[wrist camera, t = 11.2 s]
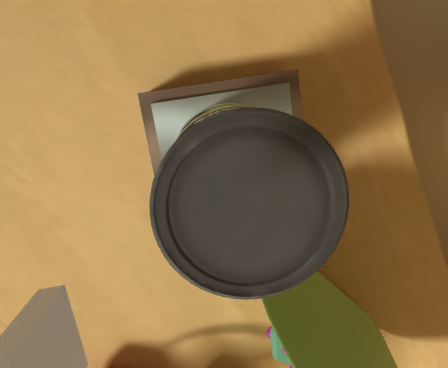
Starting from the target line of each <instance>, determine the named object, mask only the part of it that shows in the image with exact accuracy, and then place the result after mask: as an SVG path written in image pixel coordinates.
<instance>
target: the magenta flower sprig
mask: <svg viewBox="0 0 448 368" xmlns="http://www.w3.org/2000/svg"><path fill="white" fill-rule="evenodd" d="M262 301H263V304H264V307H265V310H266V312H267V315H268V317H269V320H270V322H271V324H272V327H270V328H269V329H268V330H267V335H268V336H269V337H270V338H271V347H272V355H273V357H274V359H275V360H277V361H280V362H283V363H286V364H289V365H290V368H398V367H397V365H396V363H395V361H394V359H393V357H392V355H391V353H390V350H389V348H388V346H387V344H386V342H385V340H384V338H383V336H382V334H381V332H380V331H379V329H378V327H377V326H376V324H375V323H374V322H373V320H372V319H371V318H370V317H369V315H368V314H367V313H366V312H365V311H364V310H363V309H362V308H360V307H359V306H358V305H357V304H356V303H355V302H353V301H352V300H351V299H350V298H349V297H348V296H346V295H345V294H344V293H343V292H342V291H341V290H340V289H338V288H337V287H336V286H335V285H334V284H333V283H331V282H330V281H329V280H328V279H327V278H326V277H324V276H323V275H322V274H321V273H320V272H319V271H316V272H315V273H314V274H313V275H312V276H311V277H309V278H308V279H306V280H305V281H304V282H302V283H301V284H299V285H297V286H295V287H294V288H292V289H290V290H287V291H285V292H283V293H280V294H276V295H273V296H270V297H265V298H262Z"/></svg>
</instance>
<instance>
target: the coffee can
mask: <svg viewBox="0 0 448 368" xmlns="http://www.w3.org/2000/svg"><path fill="white" fill-rule="evenodd" d="M348 208H349V190H348V183H347V178H346V174H345V171H344V168H343V166H342V163H341V161H340V159H339V157H338V156H337V154H336V152H335V150H334V149H333V148H332V146H331V145H330V144H329V143H328V141H327V140H326V139H325V138H324V137H323V136H322V135H321V134H320V133H319V132H318V131H317V130H316V129H315V128H313V127H312V126H311V125H309V124H308V123H306V122H305V121H303V120H301V119H299V118H297V117H295V116H293V115H290V114H288V113H284V112H281V111H277V110H274V109H267V108H257V107H249V106H246V105H242V104H237V103H223V104H217V105H213V106H210V107H207V108H205V109H203V110H201V111H199V112H198V113H196V114H195V115H194V116H192V117H191V118H190V119H189V120H188V121H187V122H186V123H185V124H184V126H183V127H182V128H181V130H180V132H179V133H178V135H177V138H176V140H175V142H174V144H173V145H172V146H171V147H170V148H169V150H168V151H167V153H166V154H165V156H164V157H163V159H162V161H161V163H160V165H159V167H158V169H157V171H156V174H155V177H154V179H153V183H152V188H151V194H150V219H151V226H152V230H153V233H154V237H155V239H156V241H157V244H158V246H159V248H160V250H161V252H162V253H163V255H164V257H165V258H166V260H167V261H168V262H169V264H170V265H171V266H172V267H173V268H174V269H175V270H176V271H177V272H178V273H179V274H180V275H181V276H182V277H183V278H185V279H186V280H187V281H189V282H190V283H192V284H193V285H195V286H197V287H198V288H200V289H202V290H205V291H207V292H210V293H212V294H215V295H219V296H222V297H228V298H233V299H259V298H265V297H270V296H273V295H276V294H280V293H283V292H285V291H287V290H290V289H292V288H294V287H295V286H297V285H299V284H301V283H302V282H304V281H305V280H306V279H308V278H309V277H311V276H312V275H313V274H314V273H315V272H316V271H318V270H319V268H320V267H321V266H322V265H323V264H324V263H325V262H326V261H327V260H328V258H329V257H330V256H331V254H332V253H333V252H334V250H335V248H336V246H337V245H338V243H339V241H340V239H341V236H342V234H343V232H344V228H345V225H346V221H347V215H348Z"/></svg>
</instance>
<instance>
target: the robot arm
mask: <svg viewBox="0 0 448 368" xmlns="http://www.w3.org/2000/svg"><path fill="white" fill-rule="evenodd" d="M87 365H88V362H87V359H86V355H85V352H84V349H83V345H82V342H81V338H80V335H79V332H78V328H77V325H76V322H75V318H74V315H73V311H72V308H71V305H70V301H69V298H68V294H67V291H66V288H65V285H63V286H57V287H51V288H45V289H39V290H38V291H37V292H36V293H35V294H34V296H33V297H32V298H31V299H30V301H29V302H28V303H27V304H26V305H25V307H24V308H23V309H22V310H21V312H20V313H19V314H18V315H17V316H16V318H15V319H14V320H13V321H12V323H11V324H10V325H9V326H8V327H7V329H6V330H5V331H4V332H3V334H2V335H1V336H0V368H86V367H87Z"/></svg>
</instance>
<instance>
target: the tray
mask: <svg viewBox="0 0 448 368" xmlns="http://www.w3.org/2000/svg"><path fill="white" fill-rule="evenodd" d="M138 97H139V102H140V107H141V112H142V117H143V122H144V127H145V132H146V137H147V141H148V146H149V151H150V156H151V161H152V166H153V171H154V176H155V174H156V171H157V169H158V167H159V165H160V163H161V161H162V159H163V157H164V156H165V154H166V153H167V151H168V150H169V148H170V147H171V146H172V145H173V144H174V142H175V140H176V138H177V135H178V133H179V132H180V130H181V128H182V127H183V126H184V124H185V123H186V122H187V121H188V120H189V119H190V118H191V117H192V116H194V115H195V114H196V113H198V112H199V111H201V110H203V109H205V108H207V107H210V106H213V105H217V104H223V103H237V104H242V105H246V106H249V107H257V108H267V109H274V110H277V111H281V112H284V113H288V114H290V115H293V116H295V117H297V118H299V119H301V120H302V112H301V101H300V90H299V79H298V69H297V70H290V71H283V72H277V73H270V74H264V75H257V76H250V77H244V78H237V79H231V80H224V81H217V82H211V83H204V84H198V85H191V86H184V87H178V88H171V89H165V90H158V91H151V92H145V93H138Z"/></svg>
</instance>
